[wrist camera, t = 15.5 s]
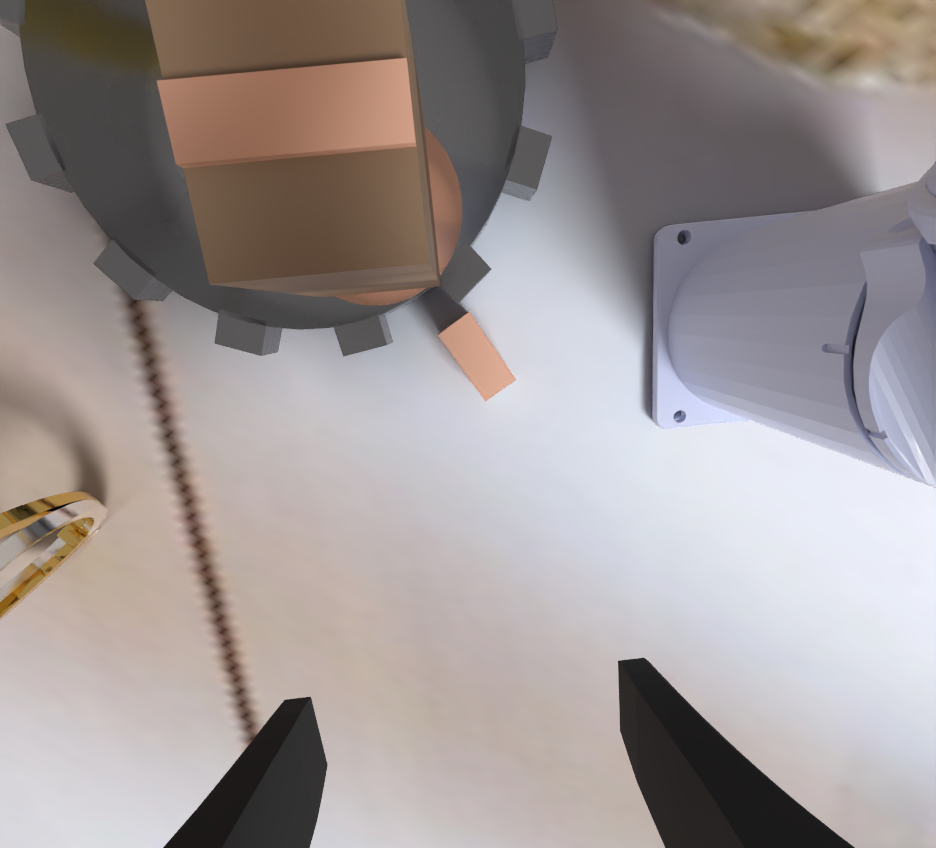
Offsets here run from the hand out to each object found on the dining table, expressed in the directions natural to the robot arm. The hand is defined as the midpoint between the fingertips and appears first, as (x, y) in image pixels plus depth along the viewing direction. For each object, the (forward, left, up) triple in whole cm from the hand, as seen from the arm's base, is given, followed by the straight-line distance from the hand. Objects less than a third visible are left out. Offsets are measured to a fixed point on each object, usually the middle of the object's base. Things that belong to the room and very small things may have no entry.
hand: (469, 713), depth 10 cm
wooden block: (+2, -12, -7) cm, 15 cm away
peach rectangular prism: (-1, -7, -10) cm, 12 cm away
